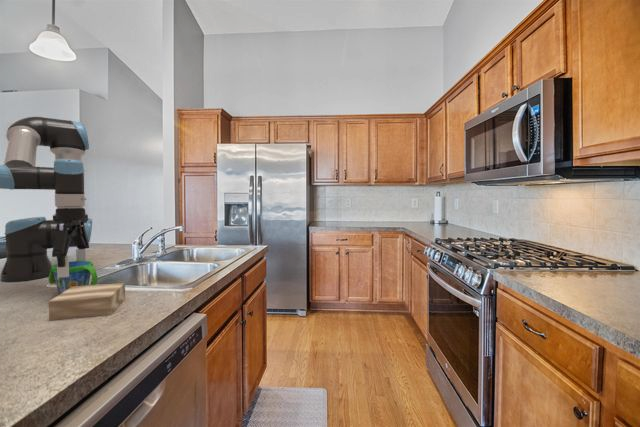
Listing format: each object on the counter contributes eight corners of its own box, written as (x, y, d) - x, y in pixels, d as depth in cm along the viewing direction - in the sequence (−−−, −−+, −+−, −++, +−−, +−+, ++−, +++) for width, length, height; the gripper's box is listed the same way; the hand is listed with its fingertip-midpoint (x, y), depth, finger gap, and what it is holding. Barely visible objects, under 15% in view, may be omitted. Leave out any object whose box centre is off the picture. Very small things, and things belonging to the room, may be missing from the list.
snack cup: (107, 291, 106) (106, 261, 105) (78, 301, 95) (76, 269, 95) (70, 287, 109) (69, 259, 108) (37, 297, 98) (36, 266, 98)
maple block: (72, 302, 94) (72, 286, 94) (125, 298, 99) (124, 282, 98) (49, 320, 81) (48, 301, 81) (111, 314, 86) (110, 296, 85)
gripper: (66, 208, 89) (69, 280, 90) (98, 206, 113) (100, 263, 114) (34, 208, 87) (38, 282, 88) (73, 206, 111) (75, 265, 112)
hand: (73, 272), depth 101 cm, fingers open, 13 cm apart
